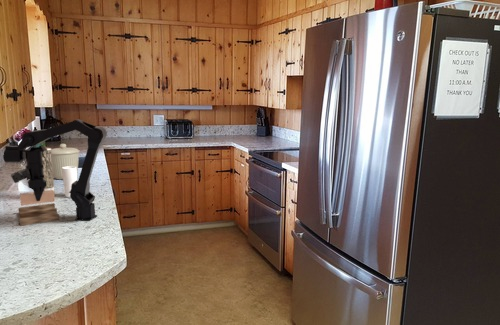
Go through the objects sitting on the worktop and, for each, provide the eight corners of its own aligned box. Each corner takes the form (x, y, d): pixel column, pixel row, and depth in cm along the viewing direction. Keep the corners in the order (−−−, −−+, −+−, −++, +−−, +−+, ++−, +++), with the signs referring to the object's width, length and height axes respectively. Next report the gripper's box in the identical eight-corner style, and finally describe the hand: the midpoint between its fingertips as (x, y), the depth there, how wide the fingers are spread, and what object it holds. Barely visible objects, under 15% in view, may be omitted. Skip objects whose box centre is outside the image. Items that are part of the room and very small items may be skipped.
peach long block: (53, 199, 163) (52, 189, 163) (54, 201, 160) (53, 191, 159) (20, 203, 157) (19, 193, 156) (21, 205, 154) (20, 195, 153)
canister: (73, 181, 227) (70, 146, 223) (42, 180, 227) (39, 145, 223) (86, 175, 245) (84, 142, 241) (58, 174, 245) (55, 141, 241)
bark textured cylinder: (51, 196, 195) (47, 147, 191) (57, 198, 191) (53, 148, 186) (36, 198, 190) (32, 148, 185) (43, 201, 186) (38, 150, 181)
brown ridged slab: (54, 208, 175) (54, 203, 174) (59, 220, 159) (59, 214, 159) (18, 213, 167) (18, 207, 167) (20, 225, 152) (19, 219, 152)
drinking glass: (62, 198, 191) (60, 168, 188) (65, 195, 197) (63, 166, 195) (77, 197, 193) (75, 168, 190) (79, 194, 199) (77, 165, 196)
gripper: (10, 160, 159) (14, 197, 162) (11, 168, 144) (15, 208, 146) (41, 158, 165) (44, 193, 168) (45, 165, 149) (48, 204, 152)
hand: (37, 199), depth 158 cm, fingers closed on peach long block, 4 cm apart
